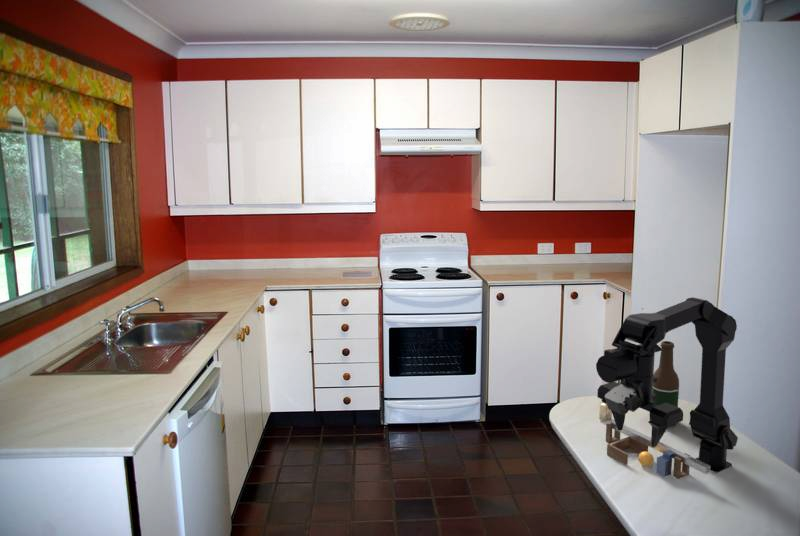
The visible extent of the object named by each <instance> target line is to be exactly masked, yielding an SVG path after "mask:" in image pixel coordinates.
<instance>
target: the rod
mask: <svg viewBox="0 0 800 536" xmlns="http://www.w3.org/2000/svg"><path fill="white" fill-rule="evenodd" d="M598 415H599V417H598V418H599V420H600V421H599V422H600V423H601V424H603V425H605V426H606V424H608V423H609V424H611V425H613V428H612V430H614V429H615V430H617V431H619V430H618V429H617V426H616V423H615V420H614V418H613V414H612V412H611V410H610V409H608V407H607V405H606V404H605V403H603V402H602V401H600V402H599V414H598ZM619 432H620V434H623V435H625V436H627V437H631V438H633V439H635V440H637V441H639V442H641V443H643V444H645V445H647V446H648V448H649V447H650V448H651V449H654V450H656V451H658V452H659V453H662V455H660V456H658V457H656V469H655V471H656V472H655V473H656V474H658V475H660V476H662V477H663V478H666V477H668V476H671V475H672V467H673V459H674V457H679V458H681V459H682V462H681V464H682V463H684V464H686V465H688V466H690V467H689V468H692V469H694V470H696V471H698V472H701V473H703V474H704V475H707V474H709V473H711V470H710V465H707V464H705V463H703V462H701V461H699V460H697V459H695V458H696V457H693V456H691V455H690V454H688V455H686V454H687V453H686V454H684V453H685V452H682V451H680V450H677V449H676V448H674V447H672V446H669V445H667V444H665V443H663V442H662V441H659V443H658V444H657V446H656V447H652V444H651V436H649V435H646V434H644V433H642V432H640V431H638V430H636V429H634V428H631V427H630V426H628V425H625V424H624V425H623V429H622V430H620V431H619ZM689 455H690V456H689Z"/></svg>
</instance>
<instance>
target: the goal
mask: <svg viewBox="0 0 800 536" xmlns="http://www.w3.org/2000/svg"><path fill="white" fill-rule="evenodd" d="M606 446H607V447H606V449H607V450H606V456H608V457H610V458H611V459H613V460H615V461H617V462H619V463H620V464H622V465H625V466H627V465H629V464H628V461H629V460H628V459H629V453H628V452H626V450H630V451H633V452H635V453H637V454H640V453H641V452H644V451H646V452H649V446H647V445H645V444H643V443H641V442H639V441H637V440H635V439H633V438H631V437H629V436H627V437H624V438H620V440H617V441H615V442H612V443H608V444H607V445H606Z"/></svg>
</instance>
